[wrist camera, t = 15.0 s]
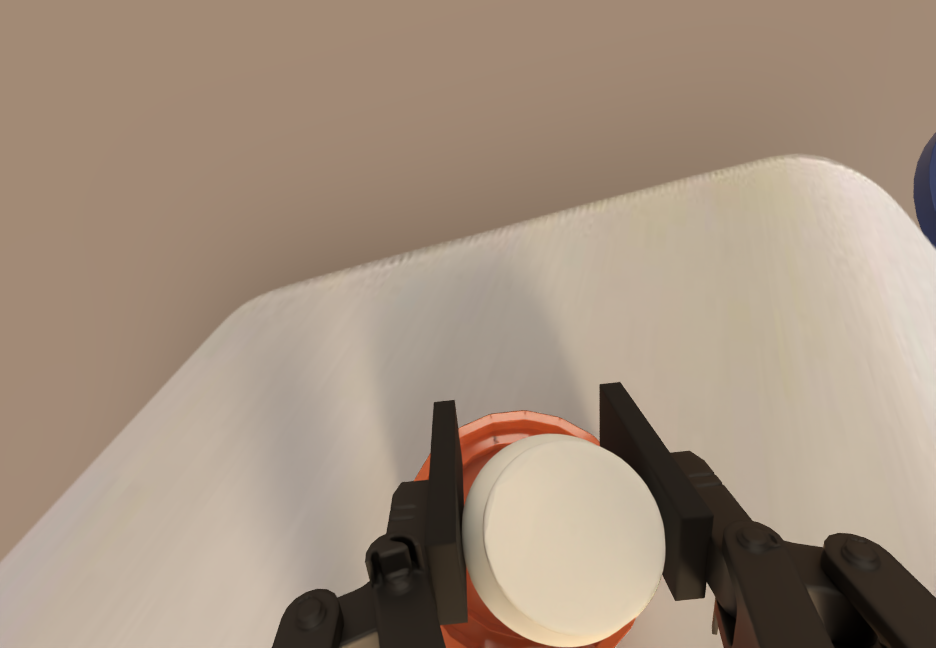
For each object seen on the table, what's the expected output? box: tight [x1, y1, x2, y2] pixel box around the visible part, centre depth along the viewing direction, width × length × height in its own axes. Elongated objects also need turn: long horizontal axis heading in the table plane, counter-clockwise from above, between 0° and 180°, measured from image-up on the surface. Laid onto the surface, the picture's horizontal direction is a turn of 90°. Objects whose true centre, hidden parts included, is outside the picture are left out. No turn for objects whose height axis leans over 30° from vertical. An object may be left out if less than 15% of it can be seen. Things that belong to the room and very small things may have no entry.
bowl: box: [414, 410, 636, 648], centre depth 27 cm, size 13×13×5 cm
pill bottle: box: [461, 434, 665, 647], centre depth 15 cm, size 5×5×10 cm
